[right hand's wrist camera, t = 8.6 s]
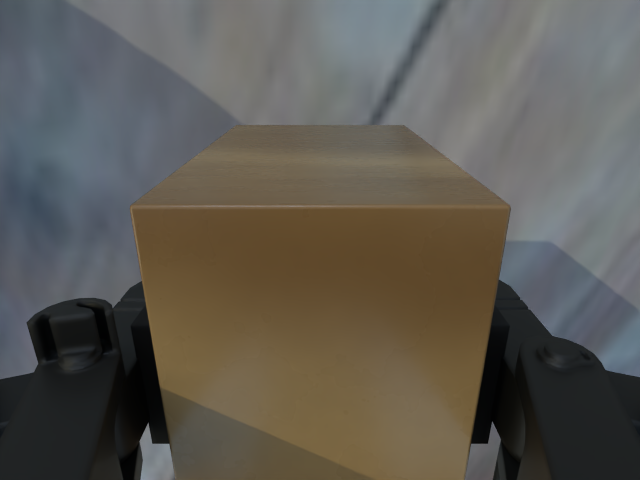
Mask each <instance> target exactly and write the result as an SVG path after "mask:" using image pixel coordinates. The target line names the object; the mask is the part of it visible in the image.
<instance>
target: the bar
mask: <svg viewBox="0 0 640 480" xmlns="http://www.w3.org/2000/svg"><path fill="white" fill-rule="evenodd" d="M510 210H511V208H510V205H509V204H508V203H506V202H505V201H504V200H502V199H501V198H500V197H498V196H497V195H496V194H494V193H493V192H492V191H490V190H489V189H488V188H486V187H485V186H484V185H482V184H481V183H480V182H479V181H477V180H476V179H475V178H473V177H472V176H471V175H469V174H468V173H467V172H465V171H464V170H463V169H461V168H460V167H459V166H457V165H456V164H455V163H453V162H452V161H451V160H449V159H448V158H447V157H445V156H444V155H443V154H442V153H440V152H439V151H438V150H436V149H435V148H434V147H432V146H431V145H430V144H428V143H427V142H426V141H424V140H423V139H422V138H420V137H419V136H418V135H416V134H415V133H414V132H412V131H411V130H410V129H408V128H407V127H406V126H404V125H236V126H234V127H233V128H232V129H230V130H229V131H228V132H227V133H225V134H224V135H223V136H221V137H220V138H219V139H217V140H216V141H215V142H213V143H212V144H211V145H209V146H208V147H207V148H205V149H204V150H203V151H201V152H200V153H199V154H198V155H196V156H195V157H194V158H192V159H191V160H190V161H188V162H187V163H186V164H184V165H183V166H182V167H180V168H179V169H178V170H176V171H175V172H174V173H172V174H171V175H170V176H169V177H167V178H166V179H165V180H163V181H162V182H161V183H159V184H158V185H157V186H155V187H154V188H153V189H151V190H150V191H149V192H147V193H146V194H145V195H143V196H142V197H141V198H140V199H138V200H137V201H136V202H134V203H133V204H132V205H131V206H130V213H131V219H132V225H133V231H134V236H135V242H136V248H137V254H138V260H139V266H140V272H141V278H142V284H143V290H144V296H145V302H146V307H147V313H148V319H149V325H150V331H151V337H152V343H153V349H154V355H155V361H156V367H157V373H158V378H159V384H160V390H161V396H162V402H163V408H164V414H165V420H166V426H167V432H168V438H169V444H170V449H171V455H172V461H173V467H174V473H175V479H176V480H465V476H466V470H467V464H468V458H469V452H470V446H471V440H472V434H473V428H474V423H475V417H476V411H477V405H478V399H479V393H480V387H481V381H482V375H483V369H484V364H485V358H486V352H487V346H488V340H489V334H490V328H491V322H492V316H493V311H494V305H495V299H496V293H497V287H498V281H499V275H500V269H501V263H502V257H503V252H504V246H505V240H506V234H507V228H508V222H509V216H510Z"/></svg>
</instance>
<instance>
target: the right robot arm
mask: <svg viewBox="0 0 640 480" xmlns="http://www.w3.org/2000/svg"><path fill="white" fill-rule="evenodd" d="M27 326H28V329H29V333H30V336H31V339H32V343H33V346H34V350H35V353H36V357H37V360H38V366H37V367H36V369H35V371H34V373H30V374H26V375H20V376H15V377H10V378H5V379H0V480H140V478H141V470H142V462H143V459H142V452H141V447H140V442H139V441H140V439H141V437H142V435H143V432H144V430H145V428H146V426H147V424H148V422H149V428H150V433H151V438H152V444H169V438H168V432H167V426H166V420H165V414H164V408H163V402H162V396H161V390H160V384H159V378H158V373H157V367H156V361H155V355H154V349H153V343H152V337H151V331H150V325H149V319H148V313H147V307H146V302H145V296H144V290H143V284H142V281H141V282H139V283H138V284H136V285H134V286H133V287H131V288H130V289H129V290H128V291H127V292H126V294H125V295H124V296H123V297H122V298H121V302H118V303H117V304H116V306H115V307H114V308H112V305H111V304H110V303H108V302H107V301H106V300H102V299H97V298H79V299H74V300H69V301H64V302H61V303H58V304H55V305H52V306H49V307H47V308H45V309H44V310H42V311H40V312H38V313H36V314H35V315H34V316H33V317H32V318H31V319H30V320H29V321H28V322H27ZM492 421H493V423H494V425H495V427H496V429H497V432H498V434H499V436H500V438H501V442H500V447H499V452H498V457H497V462H496V466H495V471H494V476H493V480H640V377H635V376H630V375H625V374H620V373H615V372H611V371H607V370H605V369H604V367H603V365H602V363H601V362H600V360H599V359H598V358H597V357H596V356H595V354H593V353H592V352H590V351H589V350H587V349H586V348H584V347H583V346H581V345H579V344H576V343H574V342H572V341H569V340H567V339H562V338H558V337H554V336H552V335H551V334H550V333H549V332H548V330H547V329H546V328H545V327H544V326H543V324H542V323H541V322H540V321H539V320H538V319H537V317H536V316H535V315H534V314H533V313H532V311H531V310H528V307H527V306H526V304H525V303H524V302H523V301H522V300H520V297H519V296H518V295H517V294H516V293H515V291H514V290H513V289H512V288H511V287H510V286H509V285H507V284H505V283H504V282H502V281H500V280H499V281H498V287H497V293H496V299H495V305H494V311H493V316H492V322H491V328H490V334H489V340H488V346H487V352H486V358H485V364H484V369H483V375H482V381H481V387H480V393H479V399H478V405H477V411H476V417H475V423H474V428H473V434H472V440H471V444H488V440H489V435H490V429H491V424H492Z"/></svg>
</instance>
